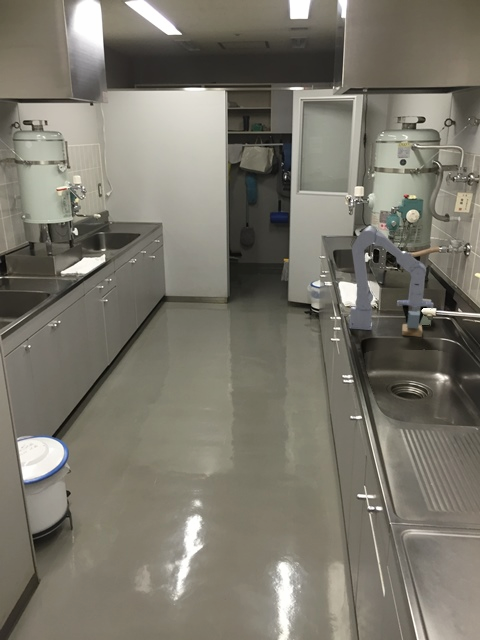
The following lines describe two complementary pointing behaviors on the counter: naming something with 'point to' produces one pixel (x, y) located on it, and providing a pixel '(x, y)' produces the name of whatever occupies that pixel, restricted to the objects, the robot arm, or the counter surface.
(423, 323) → the green block
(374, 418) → the counter surface
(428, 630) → the counter surface
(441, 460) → the counter surface
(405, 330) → the oak block
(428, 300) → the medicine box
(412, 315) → the blue block
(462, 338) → the counter surface
